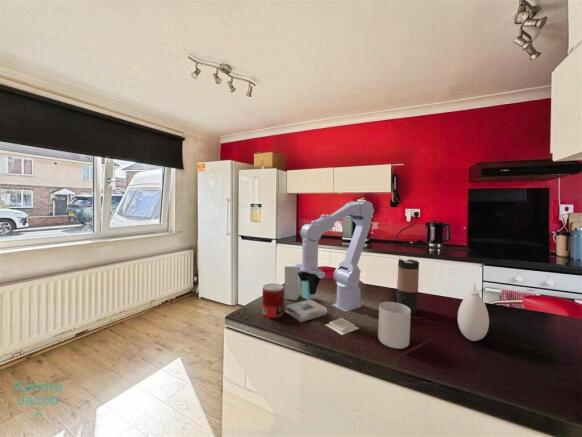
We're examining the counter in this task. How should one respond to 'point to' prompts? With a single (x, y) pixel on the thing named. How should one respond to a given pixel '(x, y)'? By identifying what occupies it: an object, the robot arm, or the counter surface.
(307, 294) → the plug
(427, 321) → the counter surface
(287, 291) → the skincare box
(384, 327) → the mug
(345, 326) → the white square dish
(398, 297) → the travel mug
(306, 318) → the port panel
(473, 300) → the sauce bottle
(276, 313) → the canned food
